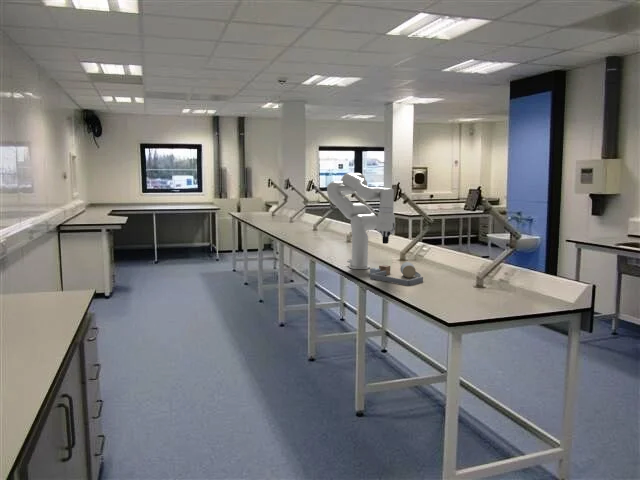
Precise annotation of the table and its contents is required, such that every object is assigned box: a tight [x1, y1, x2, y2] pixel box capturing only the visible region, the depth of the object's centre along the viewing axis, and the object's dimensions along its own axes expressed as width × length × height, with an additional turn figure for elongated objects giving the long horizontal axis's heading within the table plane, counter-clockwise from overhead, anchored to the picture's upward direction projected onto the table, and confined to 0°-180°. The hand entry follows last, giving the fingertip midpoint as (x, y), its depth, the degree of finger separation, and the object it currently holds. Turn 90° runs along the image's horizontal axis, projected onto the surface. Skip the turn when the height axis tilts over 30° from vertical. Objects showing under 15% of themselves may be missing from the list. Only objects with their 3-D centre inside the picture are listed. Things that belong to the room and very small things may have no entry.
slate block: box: [369, 267, 380, 275], centre depth 282 cm, size 4×4×4 cm
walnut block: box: [378, 264, 391, 275], centre depth 288 cm, size 4×4×4 cm
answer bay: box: [369, 271, 424, 286], centre depth 270 cm, size 24×14×2 cm, turn 47°
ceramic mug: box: [400, 261, 422, 279], centre depth 279 cm, size 11×8×8 cm
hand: (385, 243), depth 286 cm, fingers closed
